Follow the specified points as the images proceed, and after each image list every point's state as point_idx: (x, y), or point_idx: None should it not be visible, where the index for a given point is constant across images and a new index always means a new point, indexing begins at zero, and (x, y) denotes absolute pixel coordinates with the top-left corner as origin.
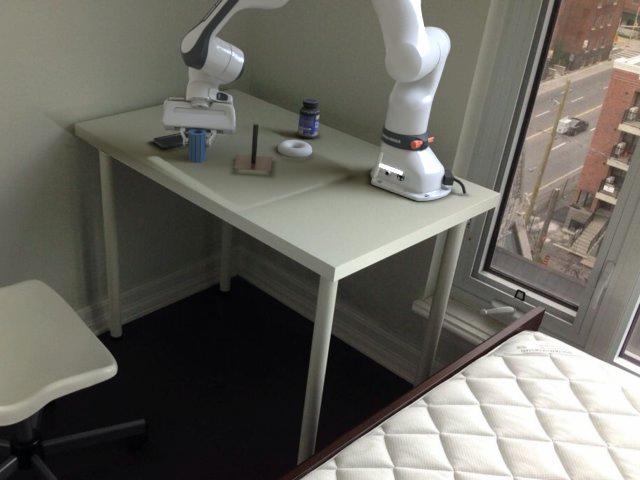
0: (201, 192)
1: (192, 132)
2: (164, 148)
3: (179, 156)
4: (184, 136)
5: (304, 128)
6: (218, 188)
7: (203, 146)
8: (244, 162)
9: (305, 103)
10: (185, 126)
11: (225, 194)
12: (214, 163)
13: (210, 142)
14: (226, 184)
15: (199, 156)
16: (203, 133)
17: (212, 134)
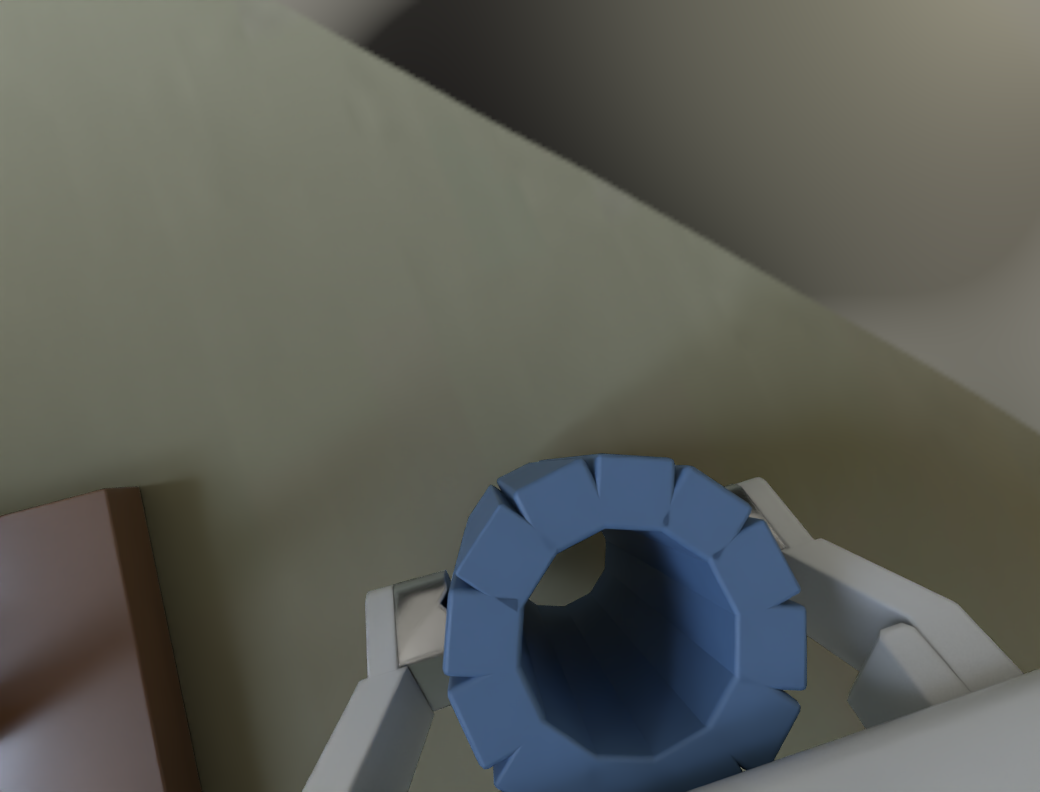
0: (296, 15)
1: (701, 550)
2: None
3: None
4: (810, 555)
5: None
6: (185, 133)
7: (466, 532)
8: (36, 703)
9: None
10: (950, 701)
11: (93, 49)
12: None
13: (375, 621)
14: (142, 234)
15: (500, 479)
16: (478, 599)
17: (355, 780)
